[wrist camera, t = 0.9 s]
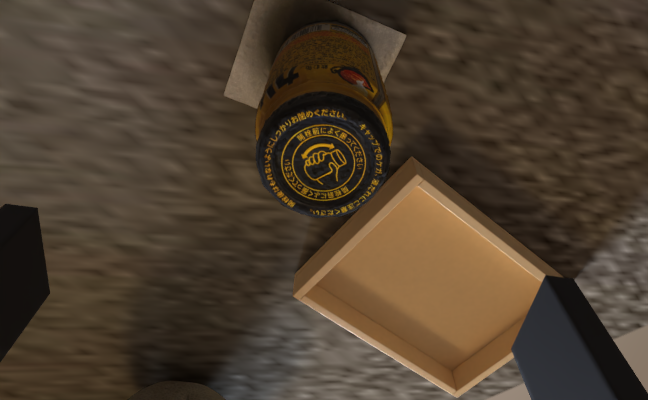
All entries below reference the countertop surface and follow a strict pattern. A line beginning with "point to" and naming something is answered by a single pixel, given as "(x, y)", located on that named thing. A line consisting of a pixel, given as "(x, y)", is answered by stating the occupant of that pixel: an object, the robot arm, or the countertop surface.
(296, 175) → the condiment
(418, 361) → the tray
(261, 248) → the countertop surface
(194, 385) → the grey round rock
